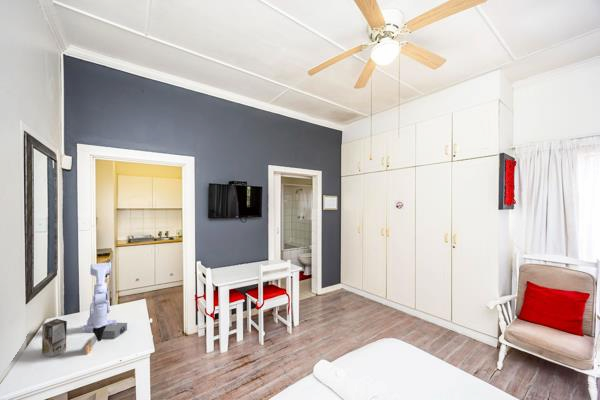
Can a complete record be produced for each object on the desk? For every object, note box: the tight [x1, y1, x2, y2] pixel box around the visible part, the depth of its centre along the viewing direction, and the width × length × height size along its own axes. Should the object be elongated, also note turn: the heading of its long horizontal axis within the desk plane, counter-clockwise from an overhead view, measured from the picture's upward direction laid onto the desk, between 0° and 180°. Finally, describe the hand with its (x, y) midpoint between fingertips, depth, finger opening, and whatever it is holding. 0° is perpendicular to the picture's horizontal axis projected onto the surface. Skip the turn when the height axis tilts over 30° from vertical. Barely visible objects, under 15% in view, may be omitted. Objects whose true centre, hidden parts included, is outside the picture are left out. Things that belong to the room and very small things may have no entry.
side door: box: [85, 334, 97, 355], centre depth 136 cm, size 16×1×4 cm, turn 25°
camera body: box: [102, 322, 128, 340], centre depth 149 cm, size 11×10×5 cm
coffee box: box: [41, 318, 68, 358], centre depth 131 cm, size 9×6×16 cm
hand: (99, 340), depth 133 cm, fingers closed
